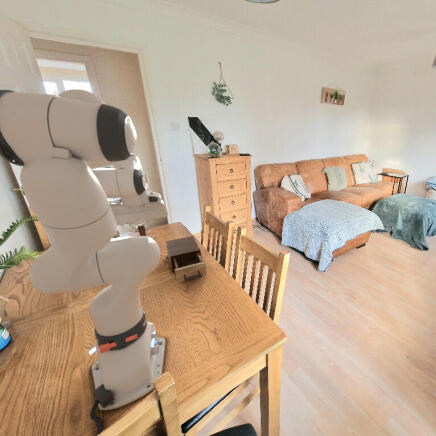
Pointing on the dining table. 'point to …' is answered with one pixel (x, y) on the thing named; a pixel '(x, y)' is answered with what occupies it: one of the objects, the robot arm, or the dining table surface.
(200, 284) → the dining table surface
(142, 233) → the brown post red base
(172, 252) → the cabinet
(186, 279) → the drawer
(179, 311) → the dining table surface
